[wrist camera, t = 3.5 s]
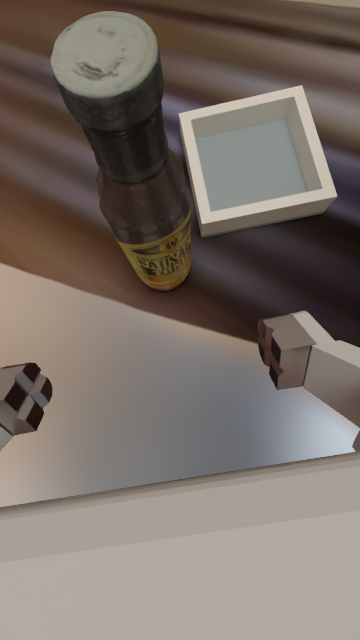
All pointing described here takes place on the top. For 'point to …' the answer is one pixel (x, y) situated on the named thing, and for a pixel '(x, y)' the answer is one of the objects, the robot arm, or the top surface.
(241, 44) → the top surface
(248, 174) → the tray
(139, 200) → the sauce bottle
